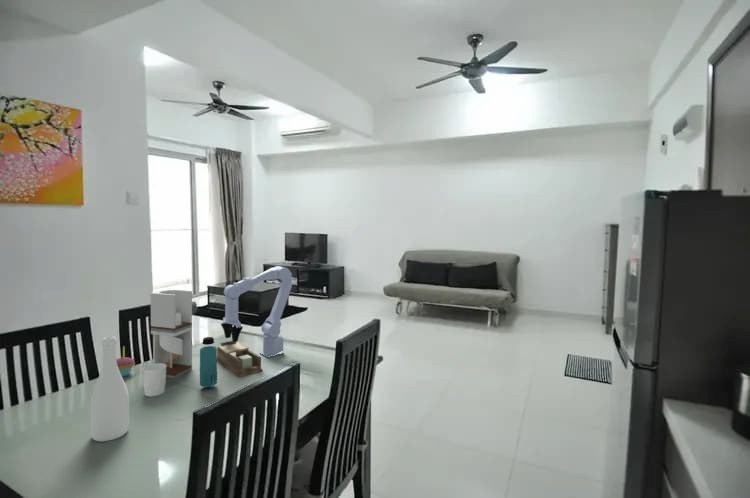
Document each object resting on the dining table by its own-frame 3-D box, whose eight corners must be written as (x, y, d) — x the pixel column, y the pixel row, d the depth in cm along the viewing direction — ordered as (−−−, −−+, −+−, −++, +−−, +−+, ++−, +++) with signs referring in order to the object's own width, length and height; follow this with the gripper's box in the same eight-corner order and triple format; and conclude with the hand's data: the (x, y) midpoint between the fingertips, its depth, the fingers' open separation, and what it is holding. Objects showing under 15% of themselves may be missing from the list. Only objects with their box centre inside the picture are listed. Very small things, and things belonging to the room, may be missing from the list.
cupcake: (113, 372, 166) (112, 344, 165) (136, 369, 170) (136, 342, 169) (109, 379, 158) (108, 350, 158) (133, 377, 162) (133, 348, 161)
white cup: (170, 389, 152) (170, 364, 151) (157, 398, 144) (157, 371, 143) (151, 387, 152) (151, 362, 152) (137, 396, 144) (137, 370, 144)
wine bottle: (122, 422, 126) (121, 331, 124) (133, 433, 120) (132, 337, 118) (87, 434, 118) (85, 337, 116) (97, 446, 112) (95, 344, 110)
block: (247, 365, 176) (247, 354, 176) (252, 368, 173) (252, 357, 173) (237, 367, 173) (237, 356, 173) (242, 370, 170) (242, 359, 170)
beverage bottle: (210, 391, 150) (211, 340, 149) (195, 389, 151) (195, 339, 150) (220, 385, 157) (221, 336, 155) (206, 383, 158) (206, 334, 157)
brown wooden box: (238, 356, 190) (238, 343, 190) (262, 370, 173) (262, 356, 172) (215, 361, 183) (215, 347, 182) (238, 377, 165) (238, 362, 165)
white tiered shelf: (151, 375, 164) (150, 293, 162) (170, 366, 174) (169, 289, 172) (174, 378, 161) (173, 295, 159) (191, 369, 172) (192, 290, 169)
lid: (238, 343, 189) (238, 339, 189) (248, 349, 181) (248, 344, 181) (217, 347, 182) (217, 343, 182) (227, 353, 174) (227, 348, 174)
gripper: (216, 309, 184) (216, 337, 185) (230, 315, 174) (230, 345, 174) (231, 307, 189) (231, 334, 190) (245, 312, 179) (244, 342, 179)
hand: (231, 339), depth 182 cm, fingers open, 7 cm apart
